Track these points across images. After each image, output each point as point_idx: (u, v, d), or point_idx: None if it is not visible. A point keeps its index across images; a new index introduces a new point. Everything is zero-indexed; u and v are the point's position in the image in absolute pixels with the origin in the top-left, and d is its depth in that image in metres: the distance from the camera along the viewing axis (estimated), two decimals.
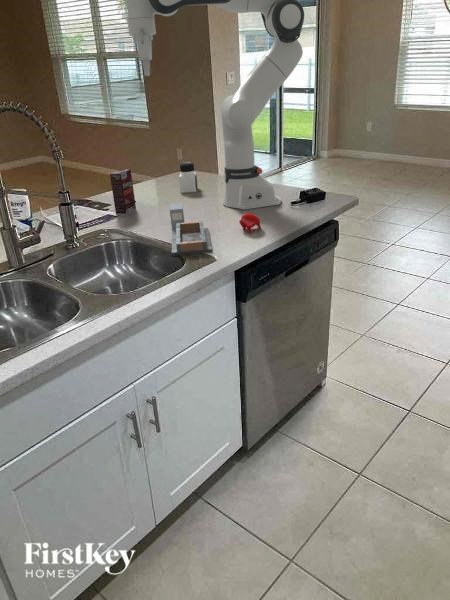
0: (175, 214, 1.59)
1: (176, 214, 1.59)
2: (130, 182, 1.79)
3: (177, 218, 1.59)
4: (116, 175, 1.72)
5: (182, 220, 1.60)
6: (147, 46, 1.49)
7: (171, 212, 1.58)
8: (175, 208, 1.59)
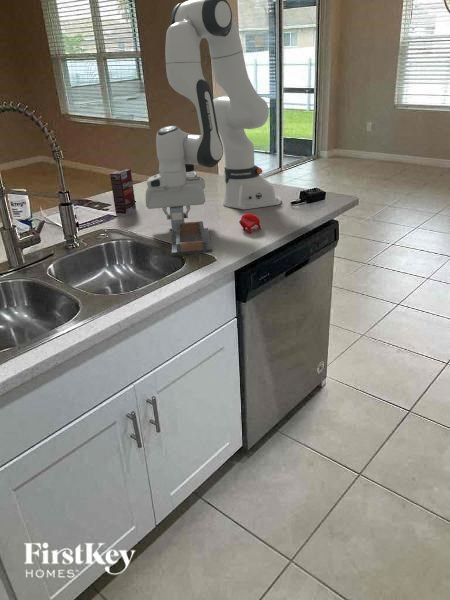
0: (175, 213, 1.59)
1: (176, 214, 1.59)
2: (130, 182, 1.79)
3: (177, 218, 1.59)
4: (116, 175, 1.72)
5: (182, 220, 1.60)
6: None
7: (171, 212, 1.58)
8: (175, 208, 1.59)
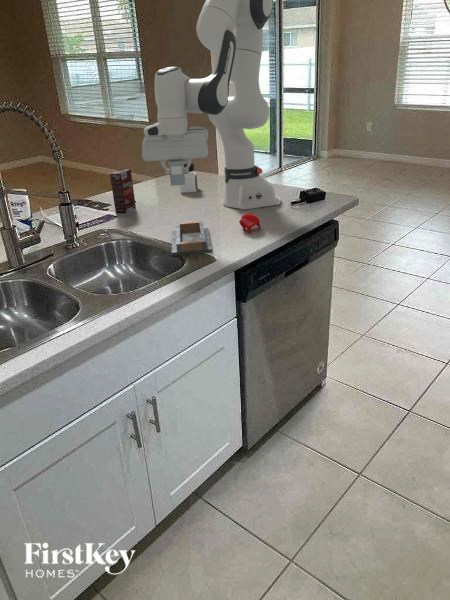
0: (174, 167, 1.43)
1: (176, 167, 1.43)
2: (130, 182, 1.79)
3: (177, 172, 1.43)
4: (116, 175, 1.72)
5: (182, 174, 1.44)
6: None
7: (170, 165, 1.42)
8: (175, 161, 1.43)
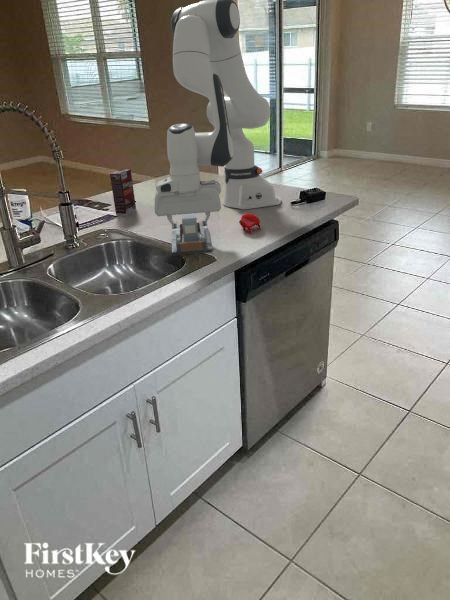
0: (188, 226, 1.43)
1: (189, 226, 1.43)
2: (130, 182, 1.79)
3: (190, 231, 1.43)
4: (116, 175, 1.72)
5: (196, 233, 1.44)
6: None
7: (183, 224, 1.42)
8: (188, 220, 1.43)
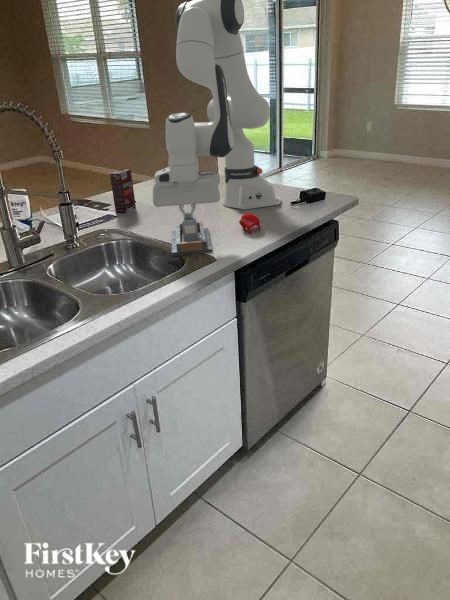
0: (188, 226, 1.43)
1: (189, 226, 1.43)
2: (130, 182, 1.79)
3: (190, 231, 1.43)
4: (116, 175, 1.72)
5: (196, 233, 1.44)
6: None
7: (183, 224, 1.42)
8: (188, 220, 1.43)
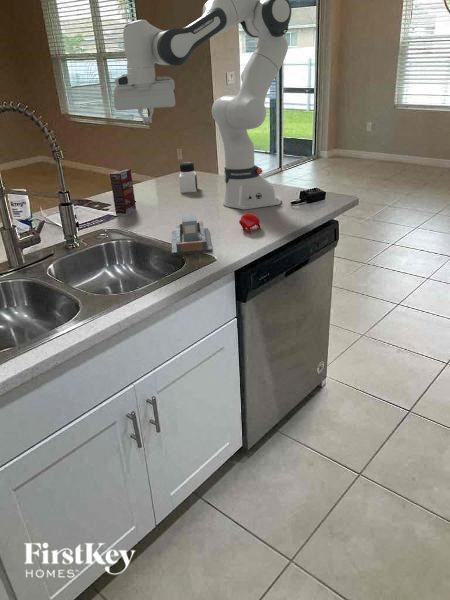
0: (188, 226, 1.43)
1: (189, 226, 1.43)
2: (130, 182, 1.79)
3: (190, 231, 1.43)
4: (116, 175, 1.72)
5: (196, 233, 1.44)
6: None
7: (183, 224, 1.42)
8: (188, 220, 1.43)
